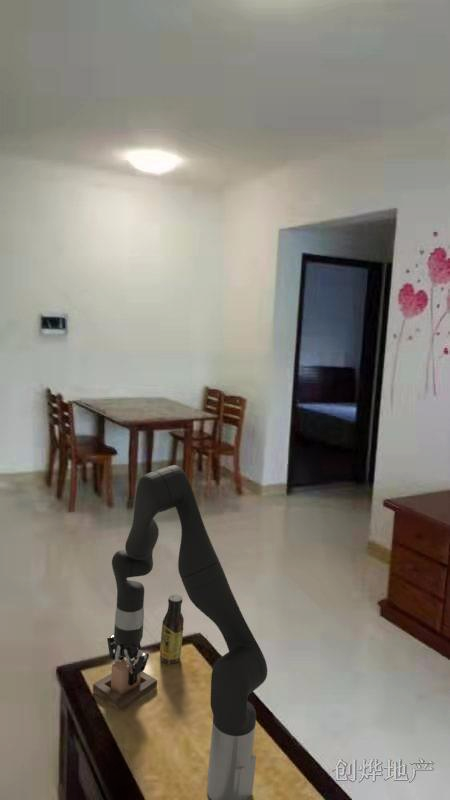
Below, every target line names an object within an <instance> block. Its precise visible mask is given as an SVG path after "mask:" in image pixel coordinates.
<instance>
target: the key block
mask: <svg viewBox="0 0 450 800" xmlns="http://www.w3.org/2000/svg"><path fill="white" fill-rule="evenodd" d="M133 659H134V658H133ZM131 660H132V659H131ZM133 667H135V665H134V664H133ZM110 671H111V673H110V674H111V689H113V690H114V691H116V692H117V693H119V694H120V695H123V694H125V693H126V692H128V691H130V690H131V689H133V688H134V687H136V686H138V685H139V684H140V678H141V672H140V673H139V674H138V675H137V682H136V683H135V684H133V685H132V686H130V685H129V684H128V682H129V672H130V671H129V665H127V661H126V658H124V659H122V660H120V661H118V662H117V663H113V664H111V670H110Z"/></svg>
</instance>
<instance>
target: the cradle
mask: <svg viewBox="0 0 450 800" xmlns="http://www.w3.org/2000/svg"><path fill="white" fill-rule="evenodd" d="M157 688H158V679H156V678H155V677H153V676H151V675H149V674H147V673H146V672H145V671H142V672H141V678H140V684H139V685H138V686H136V687H134V688H133V689H131V690H130V691H128V692H126V693H125V694H123V695H120V694H119V693H117V692H116V691H114V690H113V689H111V673H110V674H108V675H105V676H104V677H103V678H101V679H99V680H97V681H96V682H94V683H92V693H93V692H94V693H95V694H94V693H93V694H94V695H96V694H97V695H98V696H97V695H96V696H97V697H99V696H100V697H101V698H100V697H99V698H100V699H101V700H103V699H104V700H103V701H104V702H106V703H108V704H109V703H110V704H109V705H111V706H112V707H113V706H114V707H113V708H114V709H116V708H117V710H118V711H119V712H121V713H122V712H123V711H125V710H126V709H128V708H129V707H131V706H133V705H134V704H135V703H137V702H138V701H141V699H143V698H144V697H146V696H147V695H149V694H151V693H152V692H154V691H155V690H157Z"/></svg>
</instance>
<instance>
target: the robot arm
mask: <svg viewBox="0 0 450 800" xmlns="http://www.w3.org/2000/svg"><path fill="white" fill-rule="evenodd" d="M134 498H135V499H134V509H133V519H132V524H131V525H132V526H131V528H130V531H129V534H128V536H127V539H126V542H125V546H124V547H125V549H121V550H118V551H116V552H115V553H114V554H113V556H112V558H111V567H112V573H113V574H114V578H115V584H116V589H117V592H116V593H117V594H116V608H115V612H114V628H113V629H114V631H113V634H112V635H110V636H109V637H107V641H106V642H107V647H108V653H109V658H110V659H111V660H113V661H114V663H113V664H115V663H117V662H118V661H120V660H122V659H124V658H126V661H127V665H129V671H130V672H129V682H128V684H129V685H130V686H132V685H133V684H135V683H136V682H137V675H138V674H139V673H140V672H142V671H143V672H145V670H146V669H145V668H146V665H147V663H148V660H149V657H150V654H149V653H148V652H145V653H144V651H143V650H142V645H141V641H142V639H143V637H144V620H145V619H144V618H145V609H144V608H145V605H144V604H145V603H144V602H145V586H144V584H142V583H141V582H139V581H136V580H131V579H130V580H129V579H128V578H136V577H143V576H146V575H148V574H150V573H151V571H152V570H153V568H154V567H153V566H154V559H153V555H154V553H153V551H154V549H155V547H156V544H157V542H158V539H159V534H160V533H159V527H158V524H157V522H156V520H155V519H154V518H155V517H156V515H157V514H158V513H162V512H165V511H168V510H170V509H173V508H175V509H176V511H177V514H178V518H179V521H180V527H181V535H180V536H181V537H180V546H179V552H178V560H177V561H178V562H177V564H178V565H177V568H178V574H179V576H180V579H181V582H182V585H183V586H184V589H185V593H186V594H187V596H188V598H189V601H190V602H191V603H192V604H193V605H194V606H195V607H196V608H197V609H198V610H199V611H200V612H201V613H203V615H205V616H206V617H207V618H209V619H210V620H211V621H212V622H213V623H214V624H215V626H216V627H217V629H218V630H219V631H220V633H221V635H222V637H223V639H224V641H225V645H226V646H227V649H228V652H227V653H225V654H224V655H222V656H220V657H219V658H218V659H217V660H216V661H215V662H214V664H213V666H212V671H211V675H210V677H211V678H210V709H211V713H212V724H211V726H212V727H211V737H210V748H209V749H210V750H209V759H208V760H209V761H208V772H207V781H206V782H207V784H206V792H207V796H208V797H209V799H210V800H248V799H249V798H250V797H251V796H252V795H253V792H254V791H253V790H254V781H255V772H256V771H255V769H256V762H257V756H256V755H255V754H254V743H255V733H256V732H255V731H256V724H257V723H256V721H257V711H256V709H255V706H254V705H253V704H252V703H251V702H250V701H248V699H249V696H250V695H251V694H252V693H253V692H254V691H256V690H257V689H258V688H260V686H261V685H262V684H264V683H265V681H266V680H267V677H268V665H267V660H266V658H265V656H264V653H263V652H262V650H261V648H260V645H259V643H258V642H257V640H256V638H255V637H254V634H253V632H252V630H251V629H250V627H249V625H248V623H247V622H246V620H245V619H246V618H244V615H243V613H242V611H241V609H240V607H239V605H238V602H237V599H236V598H235V596H234V593H233V591H232V588H231V587H230V584H229V582H228V579H227V576H226V574H225V572H224V571H225V570H224V569H223V566H222V564H221V561H220V559H219V557H218V556H217V553H216V550H215V548H214V547H213V544H212V541H211V539H210V537H209V533H208V532H207V529H206V526H205V524H204V521H203V519H202V516H201V515H202V514H201V512H200V510H199V506H198V504H197V500H196V497H195V493H194V490H193V487H192V485H191V483H190V479H189V477H188V475H187V474H186V472H185V471H184V469H182V467H180V466H178V465H175V464H173V465H168V466H166V467H163V468H162V467H161V468H159V469H156V470H153V471H151V472H148V473H146V474H144V475H142V476H141V477H140V478H139V481H138V483H137V487H136V492H135V497H134ZM133 658H134V659H133ZM131 659H132V660H131ZM133 664H134V665H135V667H133Z"/></svg>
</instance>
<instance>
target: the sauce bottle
mask: <svg viewBox="0 0 450 800" xmlns="http://www.w3.org/2000/svg"><path fill="white" fill-rule="evenodd" d="M167 603H168V606H167V611H166V614H165V616H164V617H163V620H162V623H161V625H162V626H161V633H160V634H161V636H160V649H159V657H160V660H161V661H162V663H165V664H170V665H171V664H176V663H178V662H179V661H180V660H181V655H182V648H183V647H182V646H183V645H182V643H183V633H184V622H185V621H184V615H183V613H182V603H183V597H182V596H181V595H179V594H174V593H173V594H171V595H169V596H168V600H167Z"/></svg>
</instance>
